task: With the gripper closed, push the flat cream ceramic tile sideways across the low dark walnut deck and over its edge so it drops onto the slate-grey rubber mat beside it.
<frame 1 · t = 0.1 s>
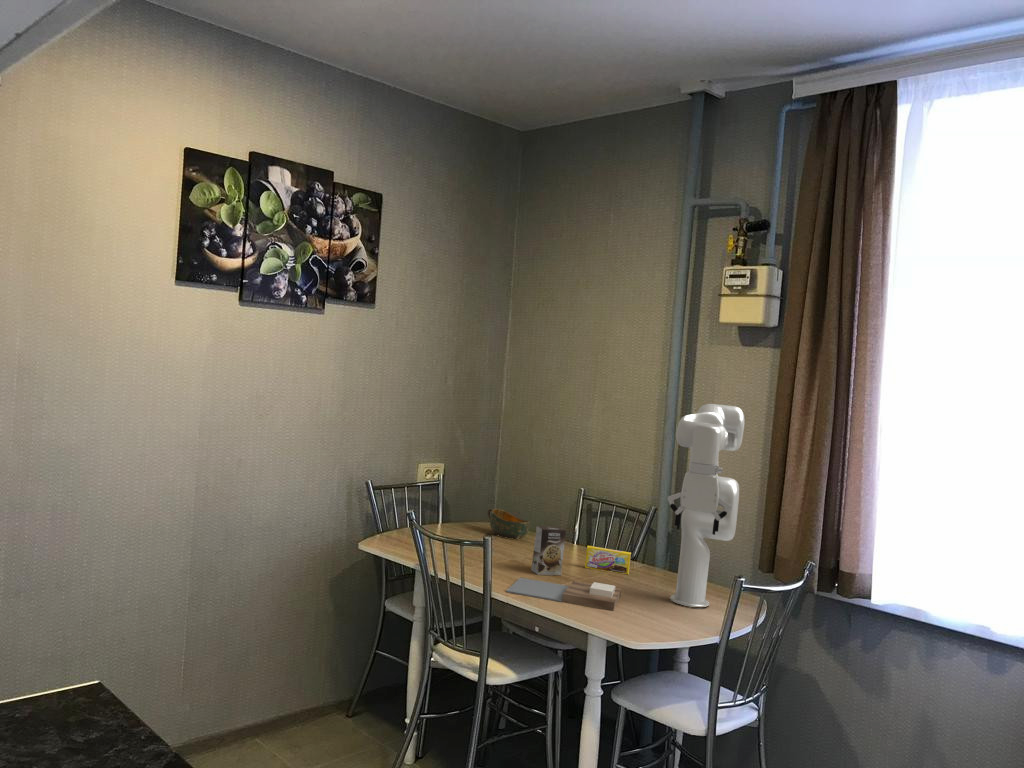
hand: (695, 531, 230), 31 cm above the table, tool pointing down, fingers open, 9 cm apart
green gourd bowl: (506, 536, 351), on the table
candy box: (606, 572, 307), on the table
mat: (540, 590, 270), on the table
deck: (592, 599, 266), on the table
cookie box: (546, 573, 294), on the table
tile: (602, 592, 265), point 2 cm above the table, touching deck
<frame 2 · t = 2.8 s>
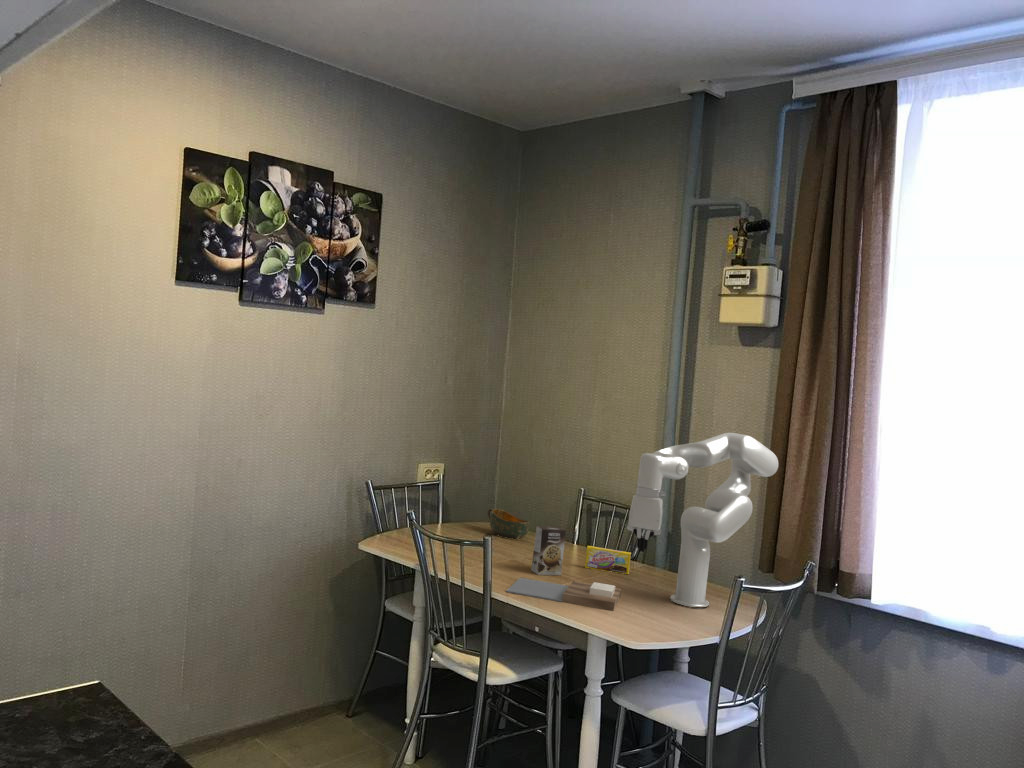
hand: (641, 550, 262), 18 cm above the table, tool pointing down, fingers closed
nothing on the table moved.
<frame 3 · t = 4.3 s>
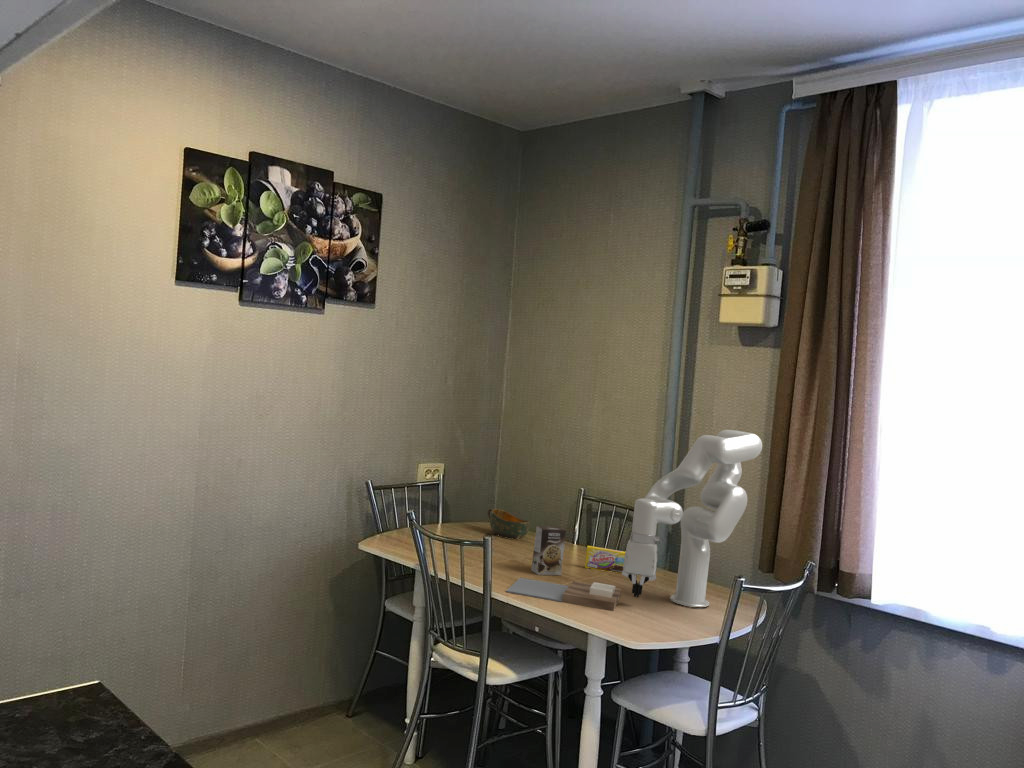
hand: (636, 596, 262), 3 cm above the table, tool pointing down, fingers closed
nothing on the table moved.
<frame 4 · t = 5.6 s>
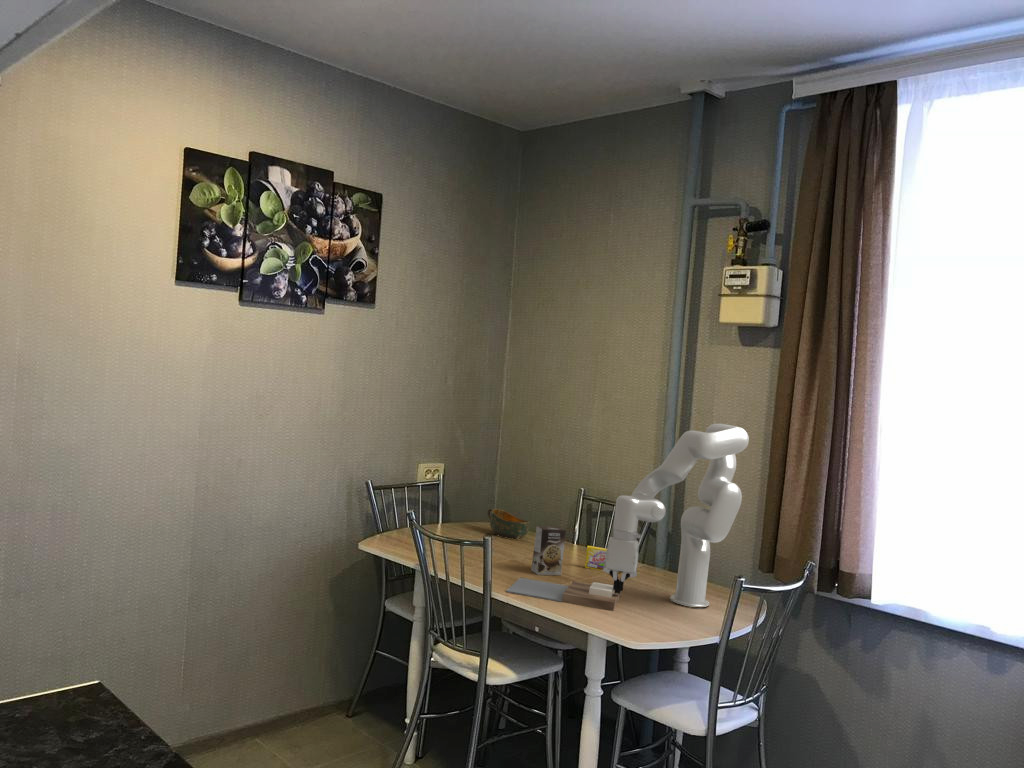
hand: (617, 592, 264), 3 cm above the table, tool pointing down, fingers closed
tile: (601, 592, 265), point 2 cm above the table, touching deck, gripper
everything else where it was.
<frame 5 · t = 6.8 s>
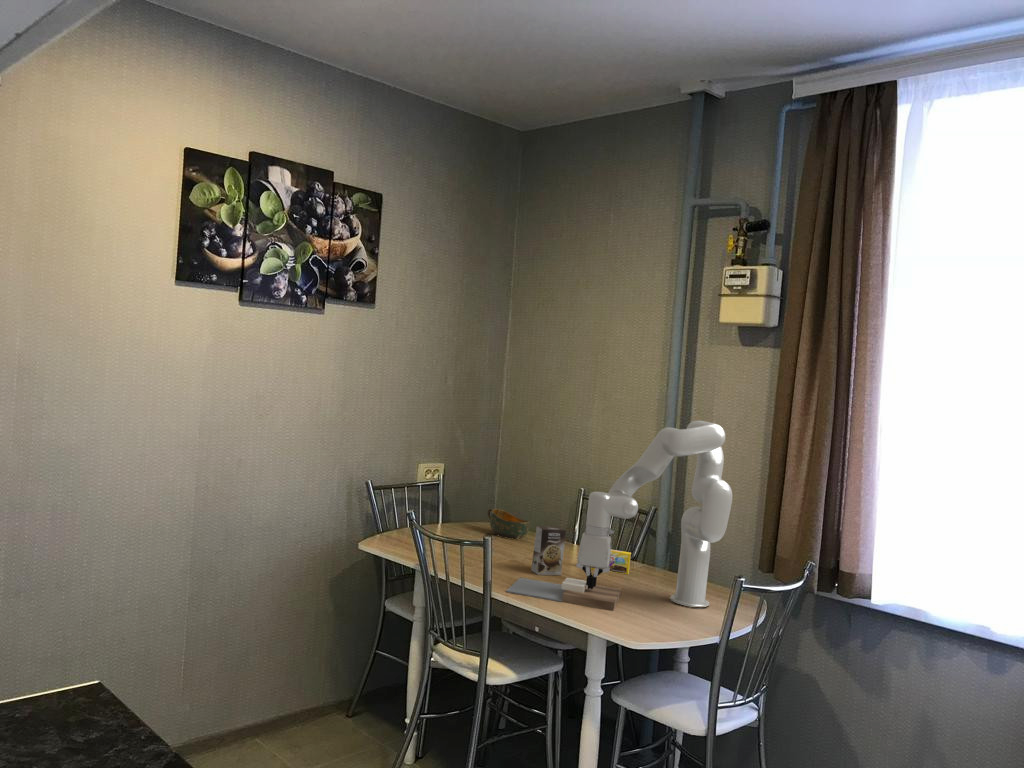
hand: (590, 587, 266), 3 cm above the table, tool pointing down, fingers closed
tile: (574, 588, 267), point 3 cm above the table
everything else where it was.
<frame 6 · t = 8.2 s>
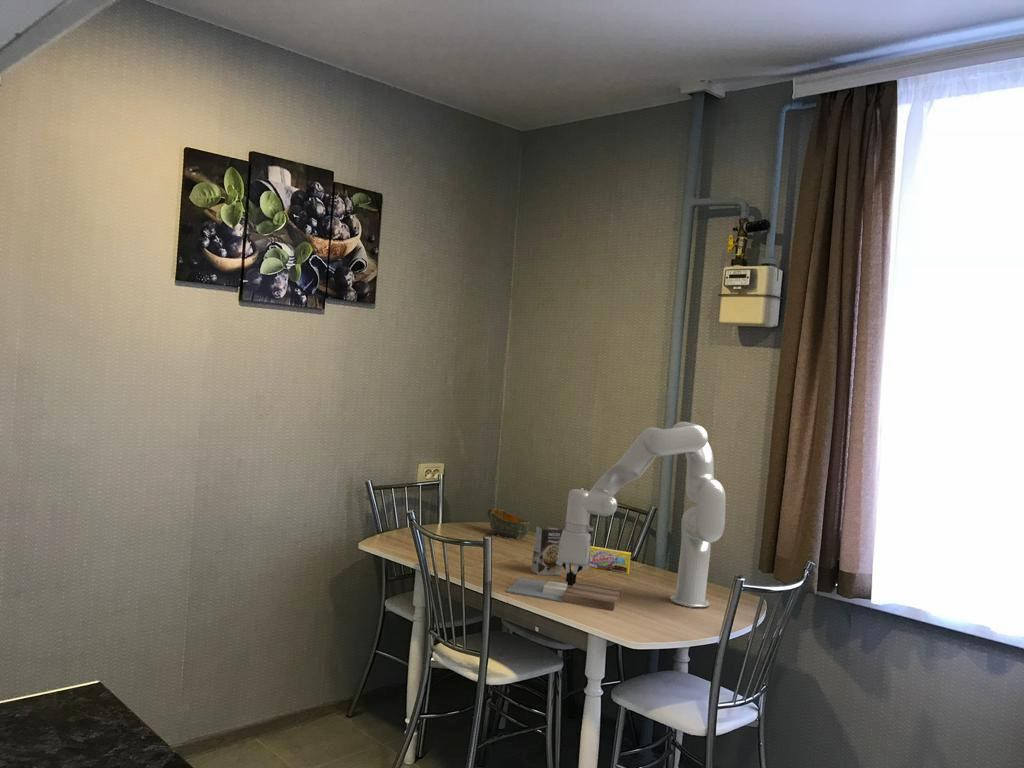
hand: (570, 584, 267), 3 cm above the table, tool pointing down, fingers closed
tile: (556, 591, 268), resting on mat
everything else where it was.
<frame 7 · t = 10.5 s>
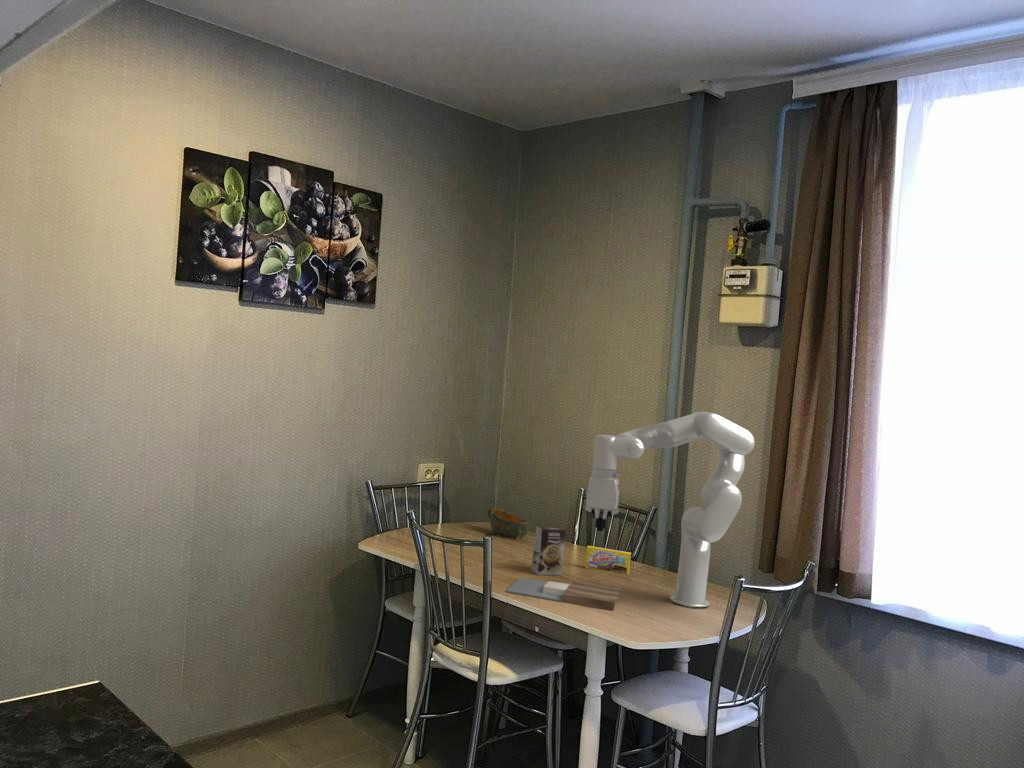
hand: (600, 530, 267), 22 cm above the table, tool pointing down, fingers closed
nothing on the table moved.
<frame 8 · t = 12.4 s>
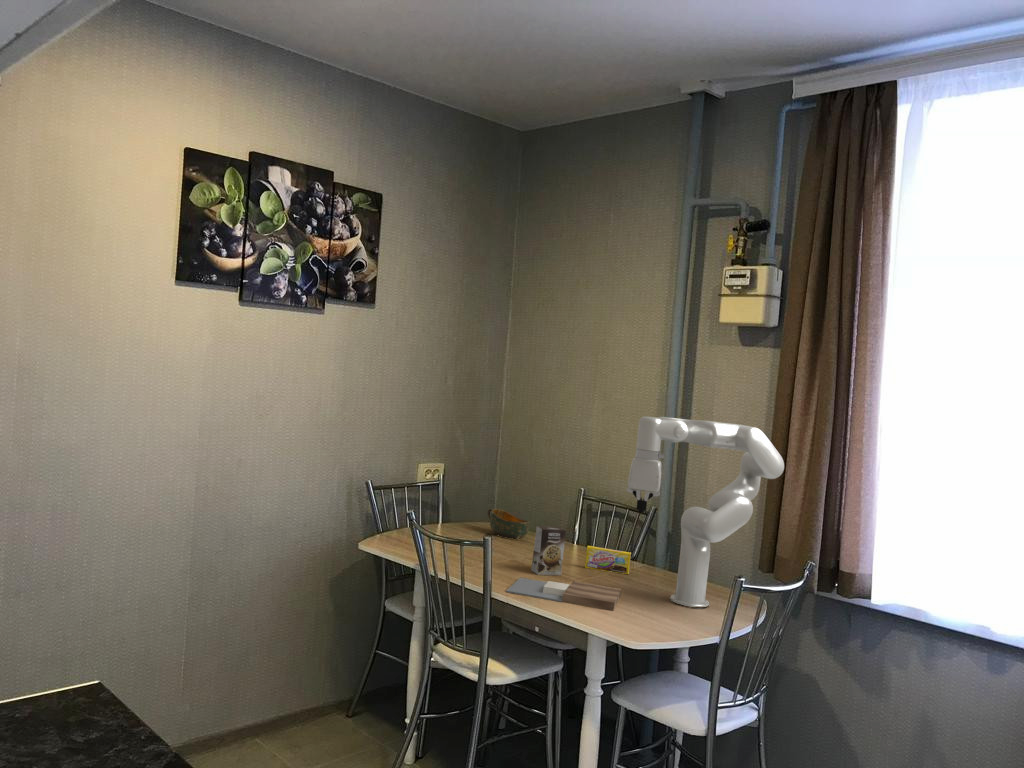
hand: (641, 512, 266), 29 cm above the table, tool pointing down, fingers closed
nothing on the table moved.
at the end: tile inside the target area on the mat (5.3 cm from its centre), point 0.5 cm above the mat's base; tile touching mat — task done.
